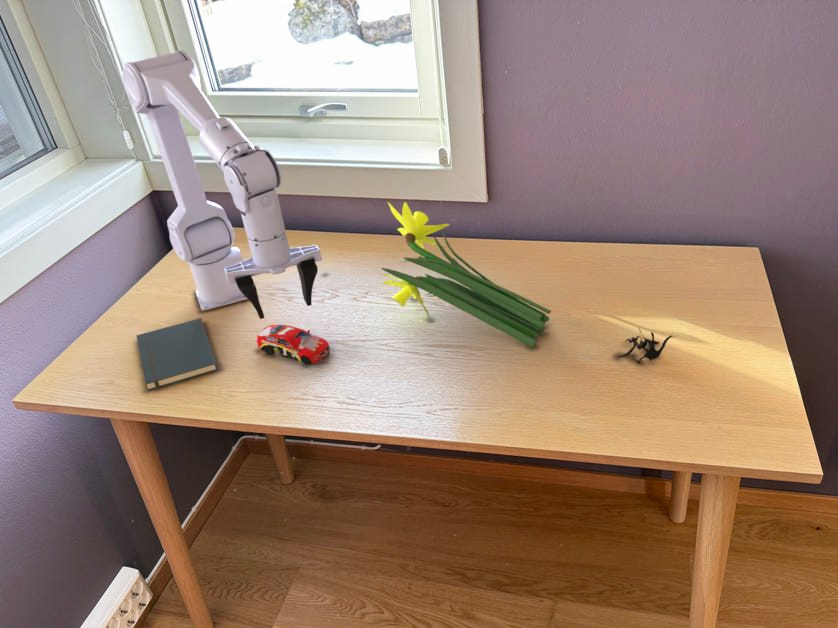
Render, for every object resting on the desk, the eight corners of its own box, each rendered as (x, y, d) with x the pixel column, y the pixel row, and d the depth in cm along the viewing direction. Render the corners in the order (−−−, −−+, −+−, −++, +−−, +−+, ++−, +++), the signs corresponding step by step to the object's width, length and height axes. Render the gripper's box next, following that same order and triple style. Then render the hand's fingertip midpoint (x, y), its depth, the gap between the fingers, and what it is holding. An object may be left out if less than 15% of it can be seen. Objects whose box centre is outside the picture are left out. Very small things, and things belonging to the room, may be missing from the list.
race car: (337, 352, 127) (333, 332, 125) (317, 370, 123) (313, 350, 121) (275, 334, 132) (270, 315, 130) (254, 351, 128) (249, 331, 126)
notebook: (203, 324, 136) (201, 317, 135) (218, 370, 124) (216, 363, 124) (138, 342, 132) (136, 335, 132) (148, 391, 121) (145, 384, 120)
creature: (608, 357, 123) (638, 374, 117) (605, 327, 121) (635, 342, 114) (647, 343, 126) (679, 358, 119) (645, 313, 124) (677, 326, 117)
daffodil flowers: (508, 377, 120) (333, 278, 129) (533, 369, 134) (374, 280, 143) (555, 281, 116) (372, 186, 126) (577, 283, 130) (410, 197, 139)
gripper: (222, 255, 109) (244, 334, 117) (320, 231, 114) (335, 308, 122) (213, 236, 114) (235, 312, 122) (307, 213, 119) (323, 288, 127)
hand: (284, 309), depth 122 cm, fingers open, 7 cm apart
